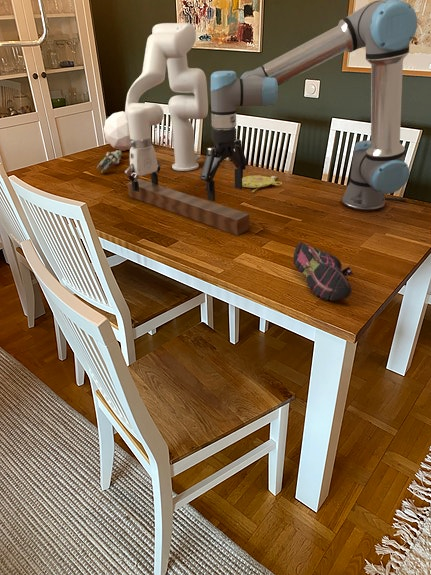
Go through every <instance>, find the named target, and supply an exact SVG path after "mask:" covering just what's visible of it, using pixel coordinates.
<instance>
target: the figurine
mask: <svg viewBox="0 0 431 575" xmlns="http://www.w3.org/2000/svg"><path fill="white" fill-rule="evenodd" d="M122 153H123V151H122V150H118V149H115V151H111V152H110V151H107V152H106V153H105V155H106V156H104V157H103V158H102V159H101V161H100V162H99V163H98V165H97V167H96V169H97V170H100V173H101V174H104V173H105V172H106V171H107V170H108V169H109V168H110V167H111V166H112V165H119V164H120V160H121V158H122V157H123V154H122Z"/></svg>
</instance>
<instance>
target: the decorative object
mask: <svg viewBox="0 0 431 575" xmlns="http://www.w3.org/2000/svg"><path fill="white" fill-rule="evenodd" d="M277 177H278V176H275V175H271V176H264V175H260V174H254V175H246V176H243V178H242V188H248V189H253V190H251V193H255V192H256V191H257V190H258V189H260V188H265V187H269V186H271V185H272V186H282V185H283V182H281V181H276V180H277V179H278V178H277Z"/></svg>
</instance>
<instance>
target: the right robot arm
mask: <svg viewBox="0 0 431 575" xmlns="http://www.w3.org/2000/svg"><path fill="white" fill-rule="evenodd" d="M417 29H418V16H417V13H416V10H415V8H414V7H413V6H412V5H411V4H410V3H408V2H406V1H403V0H374V1H371V2H369V3H367V4H365V5H364V6H362V7H361V8H359V9H357V10H356V11H354V12H352V13H350V14H349V15H347V16H345V17H344V18H342V19H339V22H338V24H337V26H335V27H332V28H331V29H328V30H327V31H325V32H323V33H321V34H319V35H316V37H313V38H312V39H309V40H308V41H305V42H304V43H302V44H300V45H298V46H296V47H295V48H293V49H291V50H289V51H287V52H285V53H283V54H281V55H280V56H278V57H275V58H274V59H272V60H270V61H268V62H266V63H264V64H262V65H261V66H259V67H257V68H255V69H253V70H247V71H245V72H244V73H243V74H242V75H241V76H240V78H239V77H237V72H236V71H234V70H217V71H214V72H212V73H211V75H210V109H211V113H210V114H211V116H210V117H211V127H212V129H211V140H212V142H213V143H214V144H213V147H208V146H207V147H206V155H205V159H204V161H203V162H204V163H203V167H202V169H201V173H200V177H199V179H200V180H201V181H204V182H205V190H206V200H207V201H210V202H215V201H216V184H215V180H214V178H215V176H216V173H217V171H218V169H219V167H220V165H221V163H223V161H224V160H226V159H230V160H231V161H230V162H232V164H233V166H234V167H235V168H234V189H237V190H243V186H242V178H243V177H244V171H245V170H246V169H247V166H248V161H247V158H246V155H245V152H244V149H243V145H242V140H241V139H239V138H237V128H236V126H237V107H255V106H256V107H258V106H259V107H261V106H264V107H266V106H273V105H275V104H276V103H277V100H278V95H279V86H280V85H282V84H285V83H286V82H288V81H290V80H292V79H295V78H297V77H298V76H300V75H303V74H304V73H306V72H308V71H310V70H311V69H314V68H316V67H317V66H319V65H322V64H324V63H325V62H327V61H329V60H331V59H333V58H335V57H337V56H339V55H341V54H343V53H345V52H348V53H352V52H355V51H356V50H359V49H363V48H365V60H366V61H367V62H368V63H369V64H370V139H369V140H368V139H366V140H359V141H357V142H356V143H355V144H354V147H353V148H354V149H353V154H352V155H353V156H352V163H351V169H350V177H349V183H348V184H347V187H346V189H345V192H344V194H343V196H342V199H341V205H343V206H344V207H345V208H347V209H350V210H352V211H356V212H363V213H364V212H367V213H368V212H377V211H380V210H382V209H384V207H385V204H386V202H404V203H406V201H407V199H406V198H395V197H394V198H393V197H385V195H390V194H394V193H397V192H399V191H400V190H401V189H402V188H403V187H404V186H405V185H406V184H407V182H408V180H409V178H410V174H411V173H410V168H409V166H408V164H407V162H405V153H406V148H405V146H404V145H403V144H402V143H401V125H402V124H401V123H402V122H401V121H402V95H403V94H402V93H403V70H404V60H405V58H406V57H407V56H408V54H410V46H411V41H412V40H413V38H414V37H415V35H416V32H417Z"/></svg>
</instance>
